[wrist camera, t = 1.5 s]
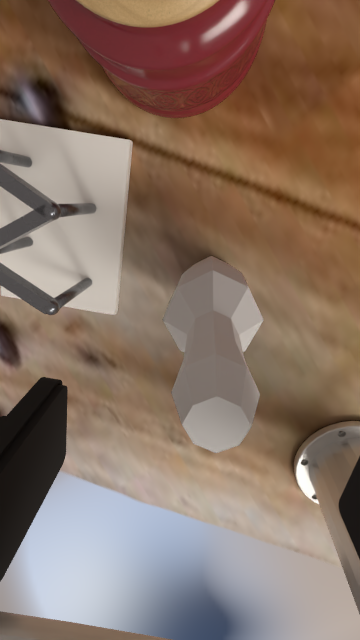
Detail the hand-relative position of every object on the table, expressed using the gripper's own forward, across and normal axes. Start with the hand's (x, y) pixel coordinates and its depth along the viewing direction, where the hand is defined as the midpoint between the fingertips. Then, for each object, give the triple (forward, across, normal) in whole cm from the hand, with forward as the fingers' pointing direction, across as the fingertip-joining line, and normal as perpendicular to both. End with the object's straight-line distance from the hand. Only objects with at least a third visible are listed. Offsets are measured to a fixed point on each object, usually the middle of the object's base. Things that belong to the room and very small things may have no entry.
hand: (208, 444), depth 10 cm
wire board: (+24, +14, -2) cm, 28 cm away
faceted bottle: (+24, -1, +1) cm, 24 cm away
